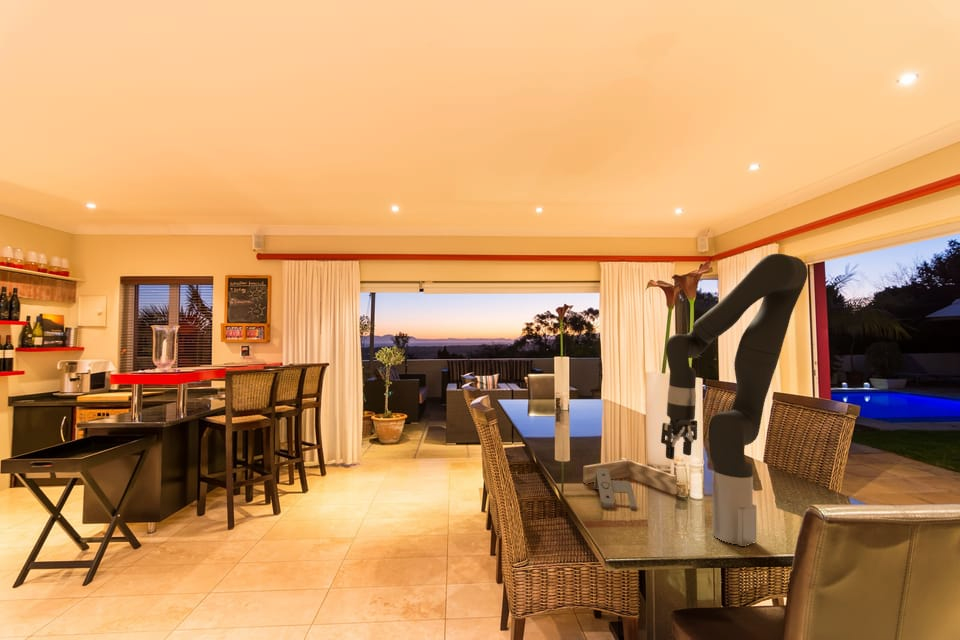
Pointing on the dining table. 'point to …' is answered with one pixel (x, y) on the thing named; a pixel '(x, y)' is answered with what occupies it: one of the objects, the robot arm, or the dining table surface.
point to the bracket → (612, 489)
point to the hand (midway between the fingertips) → (678, 456)
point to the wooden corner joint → (633, 474)
